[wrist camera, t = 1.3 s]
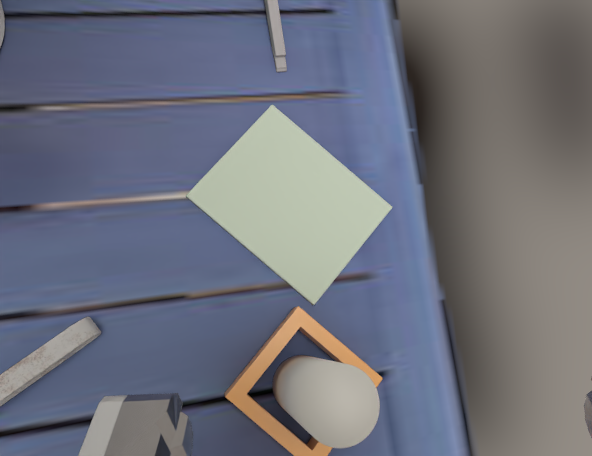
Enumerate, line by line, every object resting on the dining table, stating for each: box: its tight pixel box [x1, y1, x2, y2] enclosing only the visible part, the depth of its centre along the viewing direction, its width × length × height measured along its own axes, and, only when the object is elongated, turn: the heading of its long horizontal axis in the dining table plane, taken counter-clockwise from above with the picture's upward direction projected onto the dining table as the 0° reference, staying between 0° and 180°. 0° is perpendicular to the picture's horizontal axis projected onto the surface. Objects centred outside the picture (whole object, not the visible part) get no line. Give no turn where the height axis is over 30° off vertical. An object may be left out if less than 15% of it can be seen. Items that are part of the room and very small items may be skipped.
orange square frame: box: [224, 306, 383, 456], centre depth 45 cm, size 9×9×2 cm
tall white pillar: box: [272, 355, 380, 448], centre depth 39 cm, size 5×5×14 cm
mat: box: [186, 105, 392, 305], centre depth 49 cm, size 15×12×1 cm
